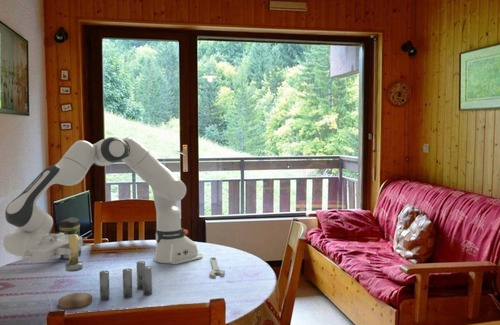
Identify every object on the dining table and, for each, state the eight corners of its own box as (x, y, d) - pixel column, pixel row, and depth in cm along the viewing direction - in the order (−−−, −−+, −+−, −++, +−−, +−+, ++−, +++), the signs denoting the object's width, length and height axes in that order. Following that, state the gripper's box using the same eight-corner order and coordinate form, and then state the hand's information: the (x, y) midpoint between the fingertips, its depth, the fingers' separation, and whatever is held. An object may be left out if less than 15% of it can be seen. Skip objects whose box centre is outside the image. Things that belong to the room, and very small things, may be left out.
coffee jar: (68, 253, 213) (66, 216, 212) (83, 253, 213) (82, 216, 211) (57, 259, 204) (55, 220, 202) (73, 259, 203) (72, 220, 201)
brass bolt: (81, 265, 156) (80, 232, 155) (83, 270, 151) (82, 236, 150) (64, 267, 154) (63, 234, 153) (66, 272, 149) (65, 237, 148)
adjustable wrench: (210, 260, 203) (210, 257, 203) (223, 260, 204) (223, 256, 204) (209, 278, 178) (209, 274, 178) (224, 278, 179) (224, 274, 179)
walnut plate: (90, 294, 161) (90, 290, 161) (94, 305, 151) (94, 301, 151) (57, 300, 156) (57, 295, 156) (59, 311, 146) (59, 307, 146)
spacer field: (98, 300, 156) (97, 272, 155) (125, 284, 171) (125, 259, 171) (135, 305, 151) (134, 277, 150) (159, 288, 167) (159, 263, 166)
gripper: (19, 245, 146) (53, 248, 142) (63, 231, 165) (94, 234, 161) (20, 263, 146) (53, 267, 142) (64, 247, 166) (94, 251, 161)
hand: (75, 249), depth 152 cm, fingers closed on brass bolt, 3 cm apart
